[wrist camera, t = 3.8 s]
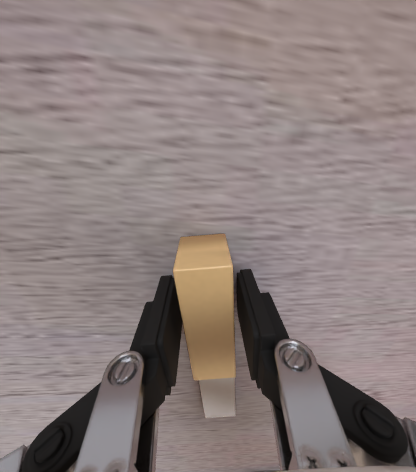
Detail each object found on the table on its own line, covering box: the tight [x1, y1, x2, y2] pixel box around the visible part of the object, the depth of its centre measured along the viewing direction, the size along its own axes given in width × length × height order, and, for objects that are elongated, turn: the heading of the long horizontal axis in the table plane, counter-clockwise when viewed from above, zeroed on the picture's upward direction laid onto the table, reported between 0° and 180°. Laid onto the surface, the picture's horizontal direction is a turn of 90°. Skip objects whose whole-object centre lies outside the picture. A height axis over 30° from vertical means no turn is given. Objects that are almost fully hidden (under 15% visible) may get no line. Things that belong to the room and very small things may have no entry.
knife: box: [173, 234, 236, 418], centre depth 12 cm, size 17×3×3 cm, turn 4°
